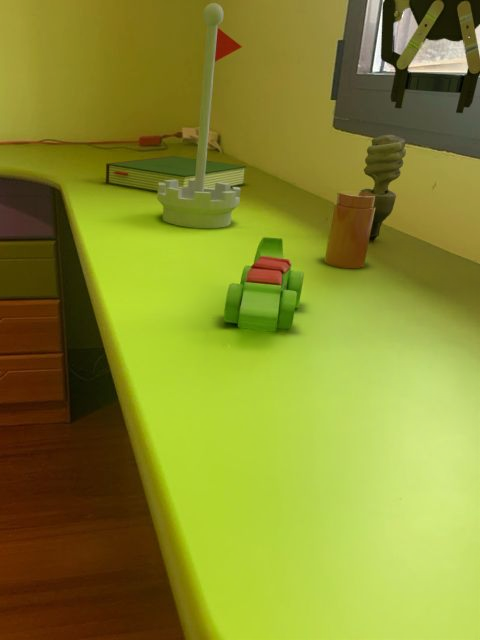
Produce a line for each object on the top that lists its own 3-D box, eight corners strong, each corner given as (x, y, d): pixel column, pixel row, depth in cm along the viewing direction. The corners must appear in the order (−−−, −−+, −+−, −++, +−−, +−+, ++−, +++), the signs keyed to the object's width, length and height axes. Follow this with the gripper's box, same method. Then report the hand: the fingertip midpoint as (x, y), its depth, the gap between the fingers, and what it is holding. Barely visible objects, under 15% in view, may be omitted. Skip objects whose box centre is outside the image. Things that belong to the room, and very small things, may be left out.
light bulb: (391, 246, 103) (414, 137, 96) (355, 244, 102) (375, 135, 95) (381, 237, 107) (402, 133, 100) (346, 235, 107) (365, 131, 100)
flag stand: (177, 230, 103) (193, -4, 89) (143, 213, 114) (153, 0, 100) (252, 228, 108) (278, 5, 94) (213, 211, 119) (231, 9, 105)
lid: (402, 89, 73) (406, 71, 73) (406, 88, 78) (409, 72, 78) (461, 93, 72) (465, 75, 71) (461, 92, 77) (465, 75, 76)
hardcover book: (172, 173, 158) (173, 155, 156) (244, 184, 148) (246, 166, 147) (103, 183, 139) (103, 163, 137) (181, 197, 130) (182, 176, 128)
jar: (358, 259, 94) (371, 191, 90) (368, 269, 89) (383, 198, 85) (320, 257, 94) (331, 189, 90) (329, 267, 89) (341, 196, 85)
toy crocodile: (285, 352, 61) (295, 285, 58) (212, 341, 63) (218, 275, 60) (303, 293, 78) (312, 238, 75) (245, 285, 80) (252, 232, 77)
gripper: (391, -84, 67) (358, 106, 75) (553, -85, 63) (500, 117, 71) (396, -70, 73) (366, 104, 81) (544, -70, 69) (497, 114, 77)
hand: (428, 109), depth 76 cm, fingers closed on lid, 5 cm apart
